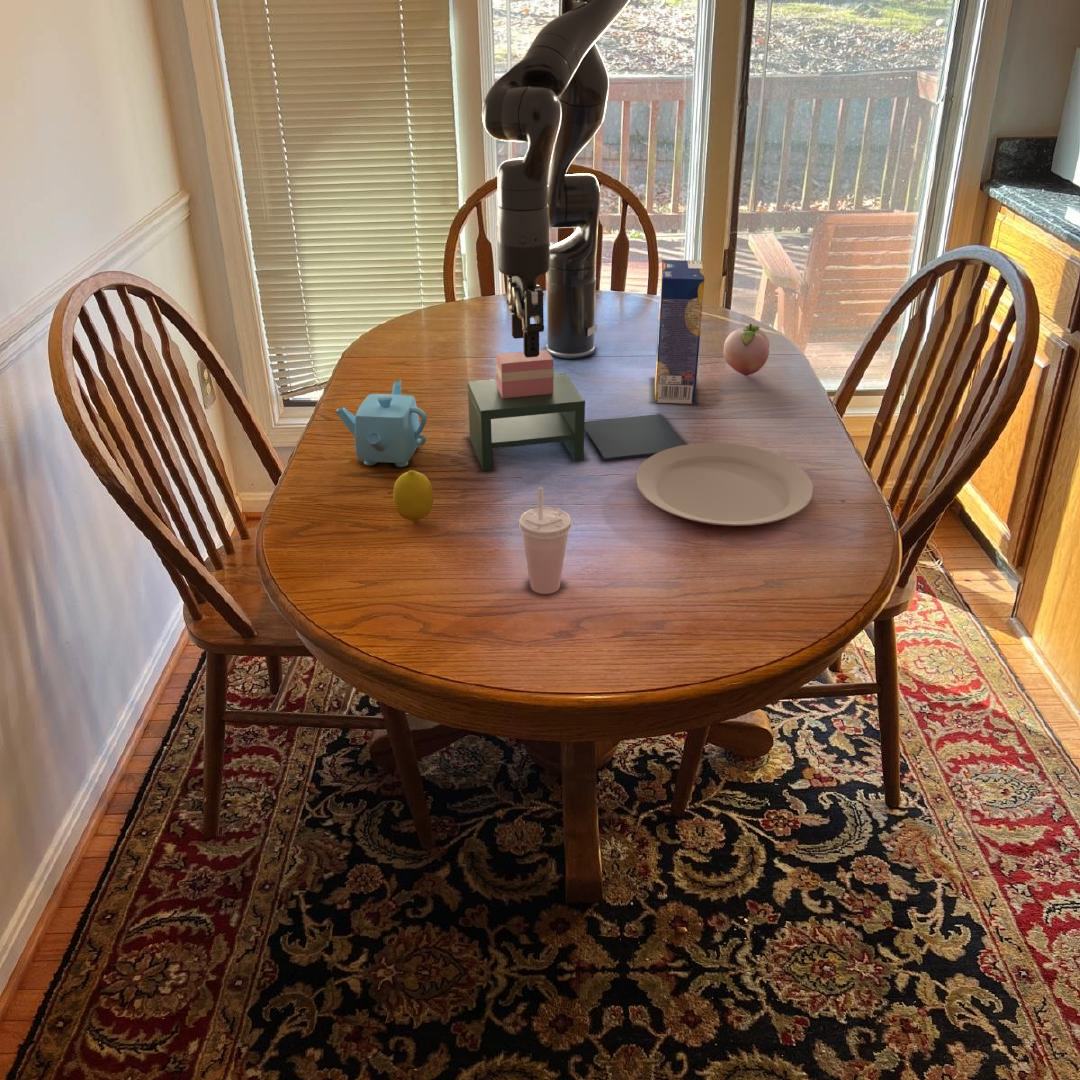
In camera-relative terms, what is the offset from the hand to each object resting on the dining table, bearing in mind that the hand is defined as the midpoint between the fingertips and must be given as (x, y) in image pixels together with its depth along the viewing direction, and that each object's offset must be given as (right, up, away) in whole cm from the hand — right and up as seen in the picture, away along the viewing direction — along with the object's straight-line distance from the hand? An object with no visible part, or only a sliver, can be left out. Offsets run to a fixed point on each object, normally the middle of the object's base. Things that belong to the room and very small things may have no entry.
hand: (525, 346), depth 152 cm
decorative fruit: (+40, +1, +35) cm, 53 cm away
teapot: (-22, -16, +7) cm, 28 cm away
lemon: (-15, -27, -11) cm, 33 cm away
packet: (0, -6, +4) cm, 7 cm away
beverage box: (+26, -3, +29) cm, 39 cm away
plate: (+29, -22, -4) cm, 37 cm away
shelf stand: (0, -15, +9) cm, 17 cm away
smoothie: (+3, -35, -25) cm, 43 cm away
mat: (+17, -13, +12) cm, 25 cm away
